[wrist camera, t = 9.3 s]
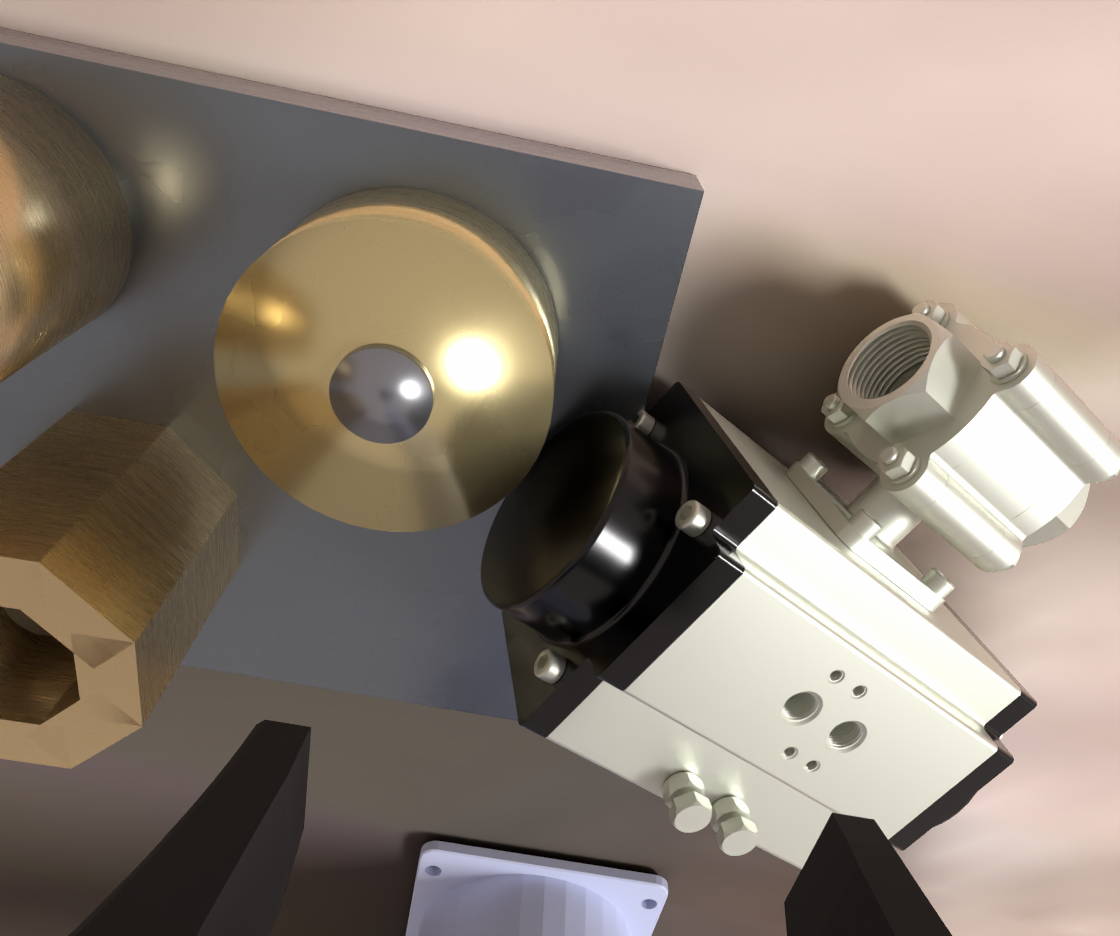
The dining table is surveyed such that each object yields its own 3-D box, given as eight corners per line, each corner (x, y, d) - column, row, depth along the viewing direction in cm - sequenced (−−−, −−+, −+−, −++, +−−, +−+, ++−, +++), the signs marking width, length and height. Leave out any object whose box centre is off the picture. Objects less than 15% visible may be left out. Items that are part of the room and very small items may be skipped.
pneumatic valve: (1099, 470, 21) (755, 775, 24) (792, 152, 16) (416, 583, 20) (1303, 606, 16) (842, 964, 19) (953, 210, 11) (418, 771, 15)
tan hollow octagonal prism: (239, 615, 21) (146, 779, 17) (31, 582, 21) (-117, 741, 16) (236, 437, 19) (128, 576, 14) (1, 398, 18) (-183, 527, 14)
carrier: (560, 687, 24) (549, 913, 18) (-30, 586, 23) (-243, 793, 17) (695, 175, 17) (748, 275, 11) (-138, -2, 16) (-556, 8, 10)
